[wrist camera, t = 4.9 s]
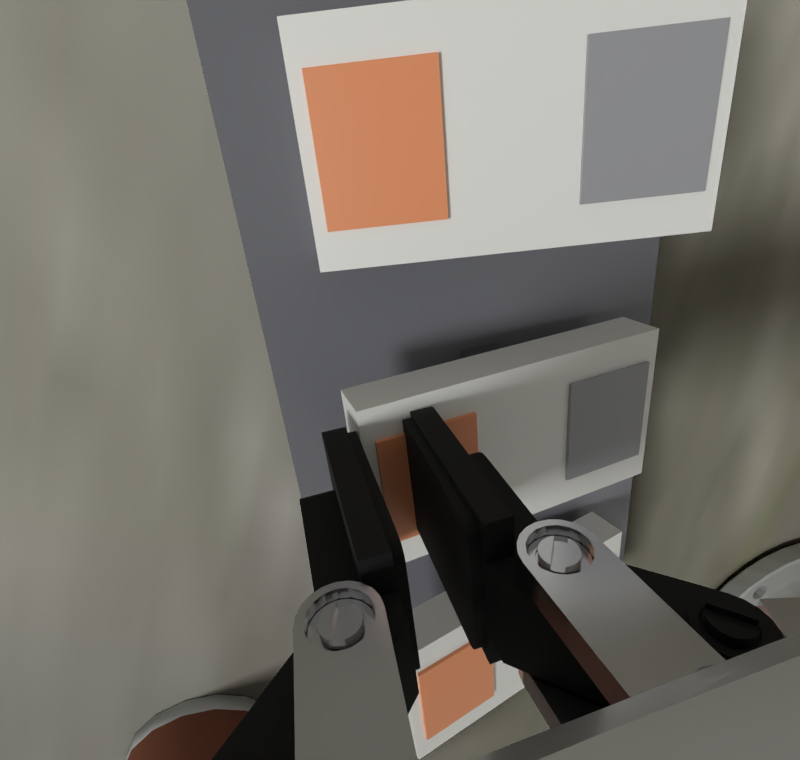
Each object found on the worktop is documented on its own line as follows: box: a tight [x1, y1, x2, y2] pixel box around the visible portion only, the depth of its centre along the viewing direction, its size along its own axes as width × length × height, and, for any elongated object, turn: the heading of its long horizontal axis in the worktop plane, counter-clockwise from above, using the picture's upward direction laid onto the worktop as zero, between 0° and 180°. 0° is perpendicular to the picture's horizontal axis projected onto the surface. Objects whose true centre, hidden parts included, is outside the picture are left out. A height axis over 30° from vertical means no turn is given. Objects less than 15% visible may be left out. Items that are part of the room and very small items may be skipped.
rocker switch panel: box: [187, 0, 660, 609], centre depth 16 cm, size 11×24×4 cm, turn 6°
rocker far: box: [408, 511, 622, 759], centre depth 16 cm, size 8×4×1 cm, turn 97°
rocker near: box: [277, 0, 747, 273], centre depth 10 cm, size 8×4×1 cm, turn 96°
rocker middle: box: [341, 317, 659, 562], centre depth 13 cm, size 8×4×1 cm, turn 96°
